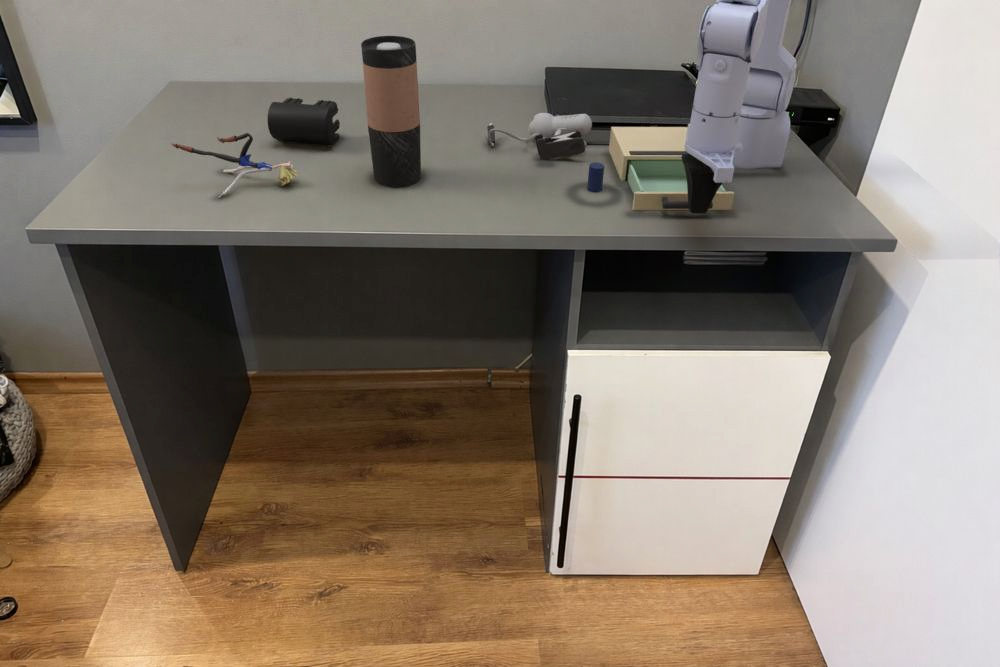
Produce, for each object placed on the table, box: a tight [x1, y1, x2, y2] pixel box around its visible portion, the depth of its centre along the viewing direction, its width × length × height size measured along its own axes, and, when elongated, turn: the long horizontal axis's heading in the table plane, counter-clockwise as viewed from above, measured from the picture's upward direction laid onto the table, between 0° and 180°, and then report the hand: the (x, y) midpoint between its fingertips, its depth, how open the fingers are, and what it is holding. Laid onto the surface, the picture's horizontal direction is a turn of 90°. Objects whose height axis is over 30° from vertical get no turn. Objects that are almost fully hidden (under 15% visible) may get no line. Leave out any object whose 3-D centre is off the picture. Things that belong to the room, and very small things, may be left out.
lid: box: [586, 162, 605, 193], centre depth 111 cm, size 7×7×5 cm
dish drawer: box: [608, 126, 689, 182], centre depth 118 cm, size 14×12×5 cm
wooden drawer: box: [625, 160, 735, 211], centre depth 109 cm, size 14×14×3 cm
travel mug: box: [360, 35, 422, 188], centre depth 110 cm, size 8×8×20 cm
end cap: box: [267, 97, 341, 147], centre depth 124 cm, size 10×7×7 cm
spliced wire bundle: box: [170, 132, 299, 199], centre depth 110 cm, size 10×9×20 cm
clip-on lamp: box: [486, 112, 593, 161], centre depth 124 cm, size 12×6×18 cm
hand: (697, 211), depth 99 cm, fingers closed
